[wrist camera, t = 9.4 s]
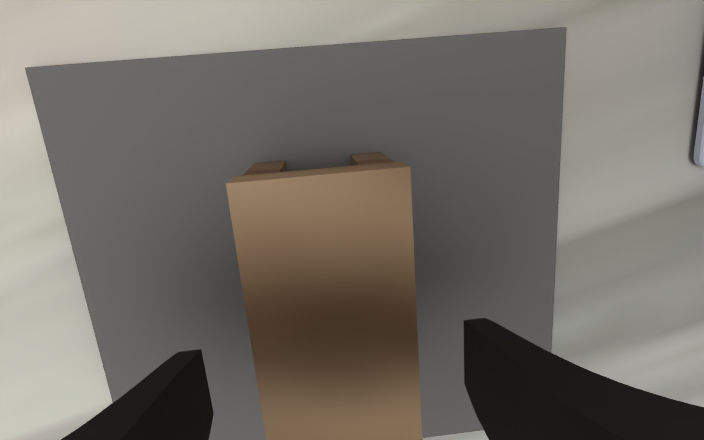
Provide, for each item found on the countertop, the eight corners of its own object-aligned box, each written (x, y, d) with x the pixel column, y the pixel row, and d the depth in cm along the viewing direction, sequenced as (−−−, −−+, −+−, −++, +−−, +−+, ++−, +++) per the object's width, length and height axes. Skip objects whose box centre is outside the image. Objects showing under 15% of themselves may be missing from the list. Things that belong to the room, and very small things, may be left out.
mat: (560, 28, 17) (566, 27, 17) (544, 416, 22) (548, 421, 22) (31, 68, 16) (24, 67, 16) (135, 468, 21) (131, 475, 20)
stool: (394, 366, 20) (423, 463, 15) (284, 379, 20) (273, 484, 14) (380, 146, 17) (410, 166, 12) (253, 157, 17) (225, 183, 12)
